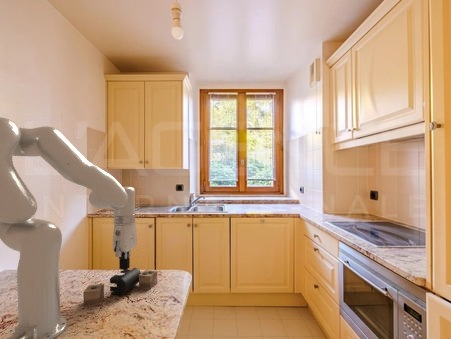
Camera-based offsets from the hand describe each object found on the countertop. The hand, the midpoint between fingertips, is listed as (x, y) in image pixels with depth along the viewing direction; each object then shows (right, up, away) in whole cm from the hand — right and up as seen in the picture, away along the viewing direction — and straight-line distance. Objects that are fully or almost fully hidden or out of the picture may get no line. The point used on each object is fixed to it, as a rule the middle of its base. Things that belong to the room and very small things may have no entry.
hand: (124, 268), depth 95 cm
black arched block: (0, -9, +1) cm, 9 cm away
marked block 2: (+8, -8, +4) cm, 12 cm away
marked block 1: (-7, -9, -8) cm, 14 cm away
